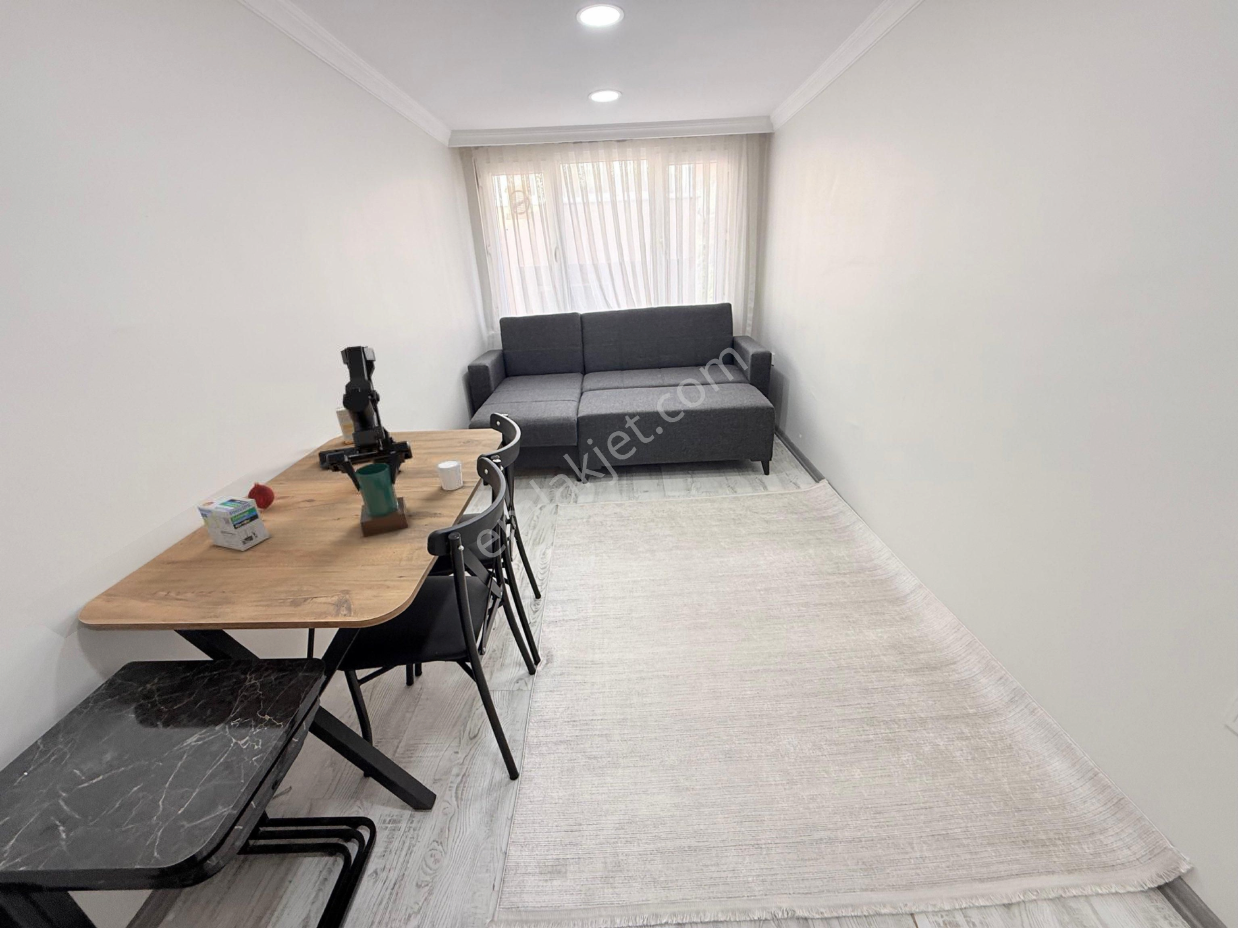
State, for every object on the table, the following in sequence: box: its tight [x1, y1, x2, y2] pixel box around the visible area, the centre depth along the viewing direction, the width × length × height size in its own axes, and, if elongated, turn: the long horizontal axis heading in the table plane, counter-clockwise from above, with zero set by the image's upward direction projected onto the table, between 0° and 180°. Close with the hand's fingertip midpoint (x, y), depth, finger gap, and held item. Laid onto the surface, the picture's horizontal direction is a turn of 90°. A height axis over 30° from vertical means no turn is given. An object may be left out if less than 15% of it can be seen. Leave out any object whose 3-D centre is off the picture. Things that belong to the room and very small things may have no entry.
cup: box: [355, 463, 399, 516], centre depth 122 cm, size 7×7×11 cm
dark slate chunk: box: [317, 446, 363, 470], centre depth 167 cm, size 15×22×5 cm
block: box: [359, 496, 409, 538], centre depth 125 cm, size 10×10×4 cm
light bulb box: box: [196, 494, 270, 552], centre depth 118 cm, size 11×7×11 cm, turn 71°
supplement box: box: [334, 406, 354, 445], centre depth 181 cm, size 8×5×13 cm, turn 123°
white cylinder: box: [435, 459, 464, 491], centre depth 143 cm, size 7×7×7 cm
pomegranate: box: [247, 481, 275, 510], centre depth 134 cm, size 6×6×8 cm
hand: (376, 487), depth 120 cm, fingers closed on cup, 7 cm apart
